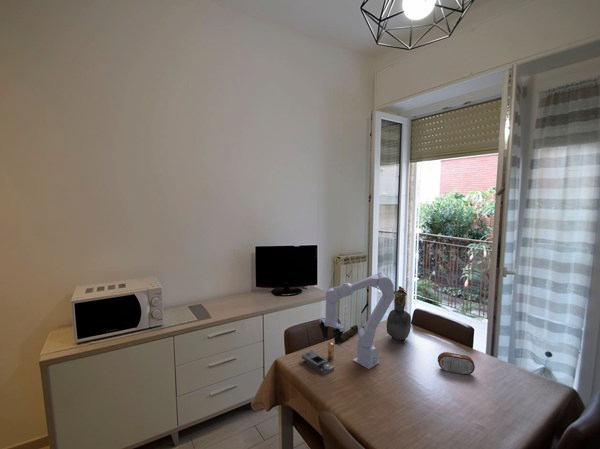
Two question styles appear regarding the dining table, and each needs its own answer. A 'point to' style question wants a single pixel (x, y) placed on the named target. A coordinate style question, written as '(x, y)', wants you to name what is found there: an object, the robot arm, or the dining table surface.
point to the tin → (456, 363)
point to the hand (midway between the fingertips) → (331, 340)
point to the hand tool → (349, 333)
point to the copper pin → (330, 351)
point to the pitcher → (399, 318)
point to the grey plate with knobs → (321, 366)
